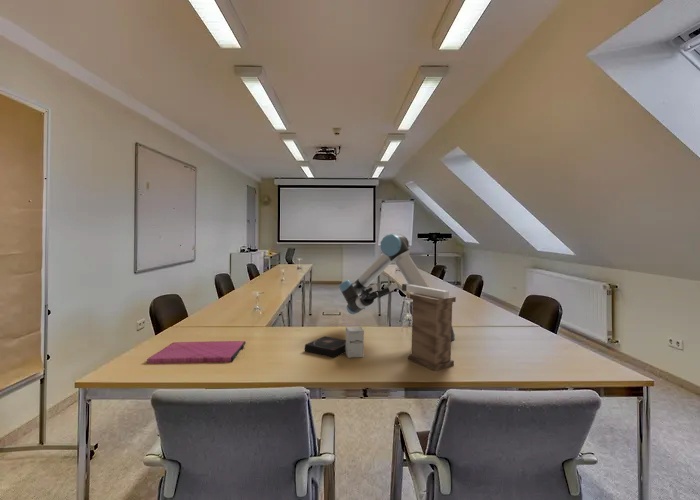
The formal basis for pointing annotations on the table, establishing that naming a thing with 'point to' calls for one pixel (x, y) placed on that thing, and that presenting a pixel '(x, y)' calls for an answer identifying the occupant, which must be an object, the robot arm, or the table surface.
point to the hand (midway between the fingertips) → (386, 285)
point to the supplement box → (354, 342)
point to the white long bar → (426, 291)
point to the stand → (431, 331)
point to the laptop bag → (198, 352)
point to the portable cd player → (326, 347)
